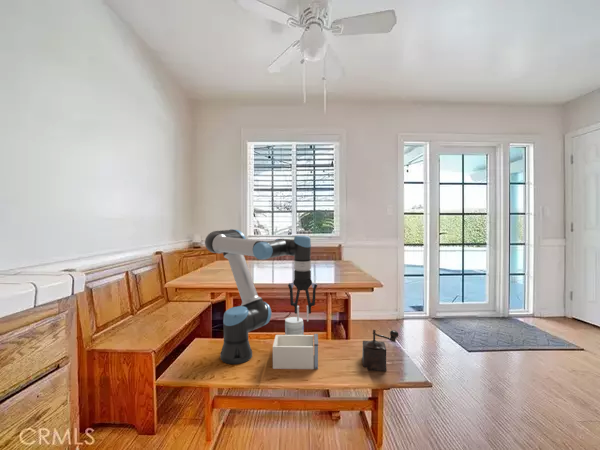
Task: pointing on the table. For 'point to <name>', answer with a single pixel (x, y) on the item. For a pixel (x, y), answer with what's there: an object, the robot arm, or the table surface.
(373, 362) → the dark brown coffee grinder
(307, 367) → the box
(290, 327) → the supplement tub
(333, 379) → the table surface
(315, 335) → the light blue panel
